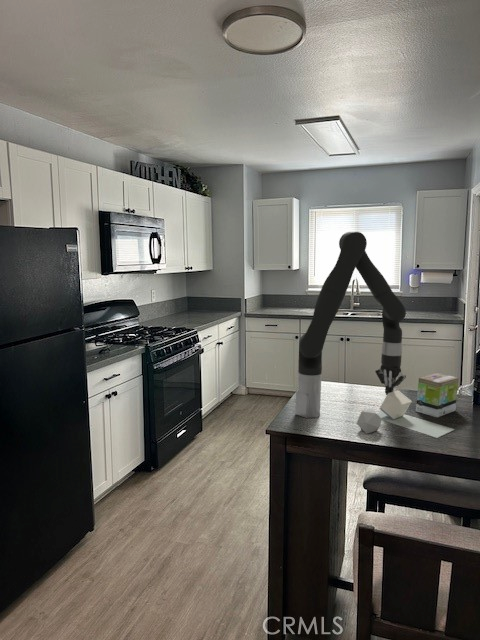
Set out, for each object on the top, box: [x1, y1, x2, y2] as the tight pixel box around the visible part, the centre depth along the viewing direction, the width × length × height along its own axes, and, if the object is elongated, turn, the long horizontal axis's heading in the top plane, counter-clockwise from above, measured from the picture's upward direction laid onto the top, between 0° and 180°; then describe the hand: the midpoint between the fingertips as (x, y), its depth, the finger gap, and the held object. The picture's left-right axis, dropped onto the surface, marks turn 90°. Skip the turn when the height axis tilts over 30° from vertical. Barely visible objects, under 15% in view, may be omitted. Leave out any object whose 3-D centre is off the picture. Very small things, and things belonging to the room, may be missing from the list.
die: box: [356, 408, 383, 435], centre depth 170 cm, size 8×9×10 cm
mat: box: [376, 411, 456, 439], centre depth 179 cm, size 13×28×1 cm, turn 39°
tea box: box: [415, 372, 459, 418], centre depth 192 cm, size 15×10×15 cm
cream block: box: [379, 390, 413, 420], centre depth 184 cm, size 7×7×8 cm
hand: (389, 395), depth 186 cm, fingers closed
